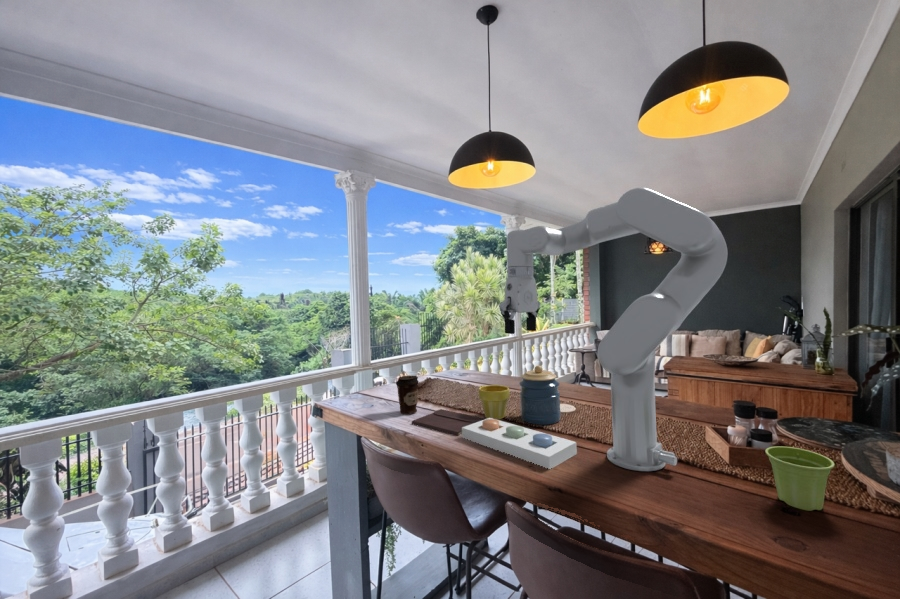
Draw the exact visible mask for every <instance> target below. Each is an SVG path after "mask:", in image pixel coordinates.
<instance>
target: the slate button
mask: <svg viewBox="0 0 900 599" xmlns="http://www.w3.org/2000/svg"><path fill="white" fill-rule="evenodd" d="M548 434H549V433H546V434H535V435H533V445H535V446H538V447H541V448H545V449H546V448H548V447H550V446H552V436H551V435H552V434H549V435H548Z"/></svg>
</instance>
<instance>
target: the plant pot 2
mask: <svg viewBox="0 0 900 599" xmlns="http://www.w3.org/2000/svg"><path fill="white" fill-rule="evenodd" d="M765 455H766V456H768V460H769V462H770V463H771V468H772V473H773V477H774V478H773V479H774V484H775V488H776V492H777V498H778V499H779V500H780V501H783V502H784V503H786V504H787V505H788V506H790V507H793V508H796V509H799V510H802V511H806V512H807V511H814V510H817V511H822V509H823V507H824V503H825V494H826V489H827V482H828V478H829V475H830V474H831V470H833V469H834V467H835V462H834V461H833V460H832V459H830V458H829V457H827V456H825V455H822V454H820V453H819V452H818V453H817V452H814V451H812V450H808V449H807V450H806V449H804V448H798V447H792V446H782V445H781V446H777V445H776V446H770V447H767V448H766V449H765Z"/></svg>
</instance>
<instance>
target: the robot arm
mask: <svg viewBox="0 0 900 599" xmlns="http://www.w3.org/2000/svg"><path fill="white" fill-rule="evenodd" d="M639 233H640V234H642V235H645V236H646V237H648V238H650V239H653V241H654V240H655V241H657V242H659V243H660V244H662V245H665V246H667V247H668V248H671V249H672V250H674V251H676V252H679V253H680V255H681V256H680V259H679V260H678V262H677V264H676V265H674V267H672V268H671V270H670V271H669V272H668V273H667V275H666V276H665V277H664V279H663V280H662V281H661V283H659V285H658V286H657V287H656V288H655V289H654V290H653V291H652V292H651V293H649V294H648V293H647V294H645V295H641V296H640V297H638V298H636V299H635V300H633V301H632V303H631V304H630V305H629V306H628V307H627V308H626V309H625V311H624V312H623V313H622V314H621V315H620V316H619V318H618V319H617V320H616V322H615V323H614V324H613V325H612V327H611V328H610V329H609V330H608V332H607V333H606V334H605V335H604V336H603V337H602V339H601V340H600V342H599V344H598V346H597V358H598V359H597V360H598V362H599V364H600V366H601V367H602V368H603V369H604V371H606V372H608V373H610V374H611V375H610V392H611V394H610V398H611V416H612V417H611V418H612V419H611V420H612V422H611V423H612V441H613V443H612V445H613V446H612V447H610V448H609V449H608V450H607V451H606V456H607V459H608V460H609V462H610V463H612V464H614V465H615V466H618V467H621V468H624V469H627V470H631V471H638V472H653V471H654V472H655V471H659V470H661V469H663V468H664V467H666V464H668V465H671V466H677V463H678V457H677V456H676V454H675V453H674V452H671V451H666V450H664V449H663V448H662V442H658V440H657V439H658V438H657V435H658V434H657V418H656V417H657V415H656V412H657V410H656V388H655V384H656V383H655V380H656V379H655V378H656V377H655V374H656V373H655V371H656V368H655V367H656V349H657V348H658V347H659V346H660V345H661V344H662V343H663V342H665V339H667V338H668V336H670V334H673V333H674V332H676V331H677V330H678V329H679V328H680V327H681V325H682V324H683V322H684V321H685V320H686V318H687V317H688V316H689V315H690V314H691V312H692V311H693V310H694V309H695V308H696V307H697V306H698V305H699V303H700V302H701V301H702V299H704V297H705V296H706V295H707V294H708V293H709V292H710V291H711V289H712V288H713V287H714V286H715V285H716V283H717V282H718V281H719V279H721V278H720V277H721V276H722V275H723V272H724V270H725V268H726V265H727V262H728V247H727V246H728V245H727V243H726V240H725V237H724V235H723V233H722V231H721V230H720V228H719V227H718V226H717V224H716V222H715V221H714V220H712V219H711V218H710V216H708V214H706V213H704V212H702V211H701V210H698V209H696V208H694V207H691V206H689V205H687V204H685V203H682V202H679V201H677V200H675V199H673V198H670V197H668V196H665V195H663V194H661V193H659V192H657V191H654V190H653V189H650V188H647V187H635V188H632V189H631V188H630V189H629V190H627V191H625V193H623V194H622V195H621V196H620V197H619V199H618V201H617V202H613V203H610V204H607V205H604V206H600V207H596V208H594V209H593V208H592V209H590V211H588V212H587V214H586V216H585V217H584V218H583V219H581V221H579V222H577V223H574V224H570V225H568V226H565V227H561V228H552V227H548V226H544V225H538V226H537V225H536V226H533V227H529V228H527V229H517V230H516V229H515V230H512V231H509V232H508V234H507V235H506V265H507V266H506V267H507V268H506V275H507V276H506V281H505V288H504V300H503V301H502V302H500V303H499V304H498V308H499V310H500V311H499V312H500V315H502V319H503V320H504V333H505V334H509V335H510V334H511V335H515V332H516V331H515V330H516V329H515V326H516V324H515V322H516V321H515V319H514V317H515V316H516V314H517V313H519V314H520V313H521V314H523V313H524V314H526V315H527V317H526V320H525V322H526V325H525V326H526V331H531V332H536V331H537V318H538V313H539V312H540V307H541V302H540V301H539V300H538V289H537V283H536V282H537V281H536V278H535V277H534V254H538V255H548V256H559V255H564V254H569V253H573V252H577V251H581V250H584V249H586V248H589V247H592V246H595V245H597V244H600V243H604V242H607V241H611V240H616V239H619V238H623V237H627V236H631V235H636V234H639Z"/></svg>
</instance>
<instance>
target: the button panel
mask: <svg viewBox="0 0 900 599" xmlns="http://www.w3.org/2000/svg"><path fill="white" fill-rule="evenodd" d="M487 419H493V418H486V419H485V420H487ZM495 420H498V421H499V429H497V430H494V431H492V432H491V431H488V430H485V429H483V425H482V421H484V420H482V421H479V422H476V423H473V424H471V425H468V426H465V427H462V434H461V438H462V439H464V438H465V439H464V440H467V439H468V441H470V440H471V441H470V442H473V443H475V442H476V443H475V444H478V443H479V445H481V446H483V447H486V446H487V448H489V447H490V448H489V449H492V448H493V450H495V451H497V450H499V451H498V452H500V451H501V452H500V453H503V452H505V453H504V454H506V453H507V454H506V455H508V454H510V455H509V456H511V455H513V456H512V457H514V456H515V457H514V458H517V457H518V458H517V459H519V458H521V459H520V460H522V459H524V460H523V461H525V460H526V461H525V462H528V461H529V462H528V463H530V462H532V463H531V464H533V463H534V464H533V465H536V464H537V465H536V466H538V465H540V466H539V467H541V466H543V467H542V468H544V467H545V469H547V468H548V469H547V470H549V469H550V470H551V468H552V469H554V468H555V467H557V466H558V465H560V464H562V463H564V462H565V461H567V460H569V459H570V458H572V457H574V456H577V454H578V450H577V441H574V440H570V439H567V438H563V437H559V436H557V435H552V434H549V433H545V432H541V431H538V430H534V429H530V428H529V427H524V426H521V425H519V426H520V427H522V428H524V437H521V438H519V439H517V440H516V439H513V438H510V437H507V436H506V428H507V427H509V426H518V425H517V424H514V423H511V422H507V421H503V420H501V419H495ZM535 434H548V435H551V436H552V446H550V447H548V448H546V449H545V448H541V447H538V446H535V445H533V435H535Z"/></svg>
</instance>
